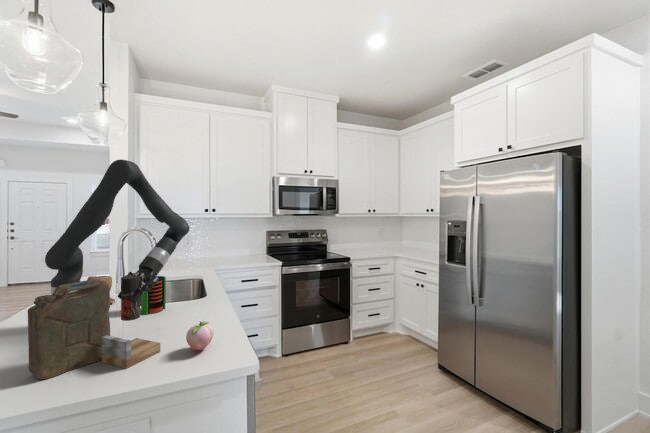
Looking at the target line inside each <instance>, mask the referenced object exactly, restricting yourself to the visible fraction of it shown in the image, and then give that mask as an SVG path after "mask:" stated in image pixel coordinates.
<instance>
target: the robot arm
mask: <svg viewBox="0 0 650 433" xmlns="http://www.w3.org/2000/svg"><path fill="white" fill-rule="evenodd" d="M126 184H127V185H129V186H130V187H131V188H132V189H133V190H134V191H135V192H136V193H137V194H138V195H139V197H140V199H141V200H142V202H143V204H144V206H145V207H146V210H148V211H149V212H150V214H152V216H153V217H154V218H155V219H156V220H157V221H158V222H159V223H162V224H163V223H165V225H167V227H168V228H167V229H166V231H165V233H164V234H163V236H162V238H160V239H159V240H158V242H157V243H156V244H155V245H154V247H153V248H151V249H150V251H149V252H148V253H147V254H146V255H145V257H144V258H143V259H142V260H141V261H140V263H139V265H138V270H137V271H136V272H132V271H129V272H128V273H127V275H126V276H130V275H139V276H140V283H139V287H138V290H136V291H135V293H134V294H133V295H132V297H131V300H132V301H134V302H136V301H137V300H138V298H139V297H140V298H141V294H142V293H144V292H146V291H147V292H149V291H150V290H151V289H152V287H153V286H154V285H155V284H156V283H157V282H158V280H159V278H158V277H157V276H159V273H160V272H161V271H162V270H163V268H164V267H165V265H166V264H167V263H168V261H169V259H170V257H171V256H172V255H173V253H174V252H175V250H176V248H177V246H178V245H179V244H180V242H181V241H182V239H183V238H184V237H185V236H186V235H187V234H189V232H190V224H189V223H188V221H187V220H186V219H184V217H182V216H181V215H179V214H178V213H177V212H176V211H174V210H173V209H172V208H171V207H170V206H169V205H168V204H167V202H165V200H164V199H163V198H162V196H160V194H158V192H157V191H156V190H155V189H154V188H153V186H152V185H151V184H150V182H149V181H148V180H147V178H146V176H145V174H144V173H143V171H142V170H141V168H140V167H139V165H138V164H137V163H135V162H133V161H130V160H127V159H115V160H114V161H112V163H111V164H109V166H108V168H107V169H106V170H105V174H104V175H103V177H102V178H101V180H100V182H99V184H98V185H97V187H96V188H95V190H93V192H92V193H91V195H90V196H89V198H88V199H87V200H86V202H85V203H84V204H83V206H82V207H81V208H80V209H79V211H78V213H77V214H76V216H75V217H74V218H73V220H72V221H71V223H70V224H69V225H68V227H67V229H66V230H65V231H64V232H63V234H62V235H61V236H60V237H59V238H58V239H57V241H56V242H55V243H53V245H52V246H51V247H50V248H49V249H48V250H47V252H46V253H45V257H44V263H45V265H46V267H47V268H48V269H49V270H55V271H57V273H56V274H55V276H53V277H52V278H51V280H50V295H53V293H54V291H55V289H56V288H57V287H58V286H60V285H64V284H70V283H75V282H81V279H82V277H83V272H84V268H83V267H84V254H83V250H82V249H81V248H80V245H81V244H82V243H83V242H84V241H85V240H87V239H88V238H89V237H90V236H92V235H93V234H94V233H95V232H97V231H98V230H99V229H100V228H101V227H102V226H103V225H104V223H105V222H106V220H107V219H108V218H109V217H110V215H111V213H112V211H113V207H114V205H115V204H114V203H115V200H116V197H117V195H118V194H119V193H120V191H121V190H122V188H123V187H124V186H125V185H126ZM149 284H150V286H149V287H148V285H149ZM75 291H78V290H75ZM75 291H70V292H69V293H71V292H75ZM117 298H119V299H120V300H121V291H120V292H119V293H118V294H117Z"/></svg>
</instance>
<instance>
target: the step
mask: <svg viewBox="0 0 650 433" xmlns="http://www.w3.org/2000/svg"><path fill="white" fill-rule="evenodd" d="M160 352H161V342H157V341H152V340H147V339H142V338H139V337H138V338H137V337H136V338H133V339H131V340H130V339H125V338H121V337H116V336H112V335H110V336H108V335H106V336H103V337H102V360H101V363H103V364H107V365H109V366H110V365H111V366H115V367H118V368H123V369H129V368H131V367H133V366H135V365H136V364H139V363H141V362H143V361H145V360H147V359H148V358H151V357H152V356H155V355H156V354H159V353H160Z"/></svg>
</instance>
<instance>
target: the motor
mask: <svg viewBox="0 0 650 433" xmlns="http://www.w3.org/2000/svg"><path fill="white" fill-rule="evenodd" d="M157 277H158V278H159V280H158V282H157V283H156V284H155V285H154V286H153V287H152V289H151V290H150V291H149V292H147V291H146V292H144V293H142V294H141V296H140V314H141V315H145V316H146V315H152V314H159V313H161V312H163V311H164V310H166V296H167V294H166V289H167V288H166V285H167V284H166V281H167V279H166V277H167V276H164V275H157ZM149 286H150V284H149V285H148V287H149Z"/></svg>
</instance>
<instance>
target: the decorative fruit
mask: <svg viewBox="0 0 650 433" xmlns="http://www.w3.org/2000/svg"><path fill="white" fill-rule="evenodd" d="M213 336H214V328H213V326H212V325H210V322H209V321H206V320H205V321H200V320H199V323H196V324H193V325H192V326H191V327H190V328H189V329H188V330H187V332H186V337H185V338H186V339H185V340H186V344H187V345H188V346H189V347H190V348H191V349H193V350H196V351H203V350H205V348H206V347H208V346H209V345H210V343H211V342H212V340H213Z"/></svg>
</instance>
